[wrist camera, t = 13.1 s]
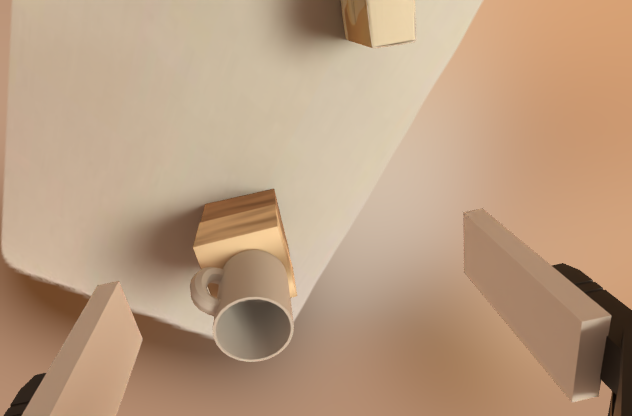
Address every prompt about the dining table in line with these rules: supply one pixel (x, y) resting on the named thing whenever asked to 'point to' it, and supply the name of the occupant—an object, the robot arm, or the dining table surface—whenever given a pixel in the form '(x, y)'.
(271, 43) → the dining table surface
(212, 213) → the walnut block
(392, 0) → the skincare box
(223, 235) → the beech block
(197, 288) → the cup
